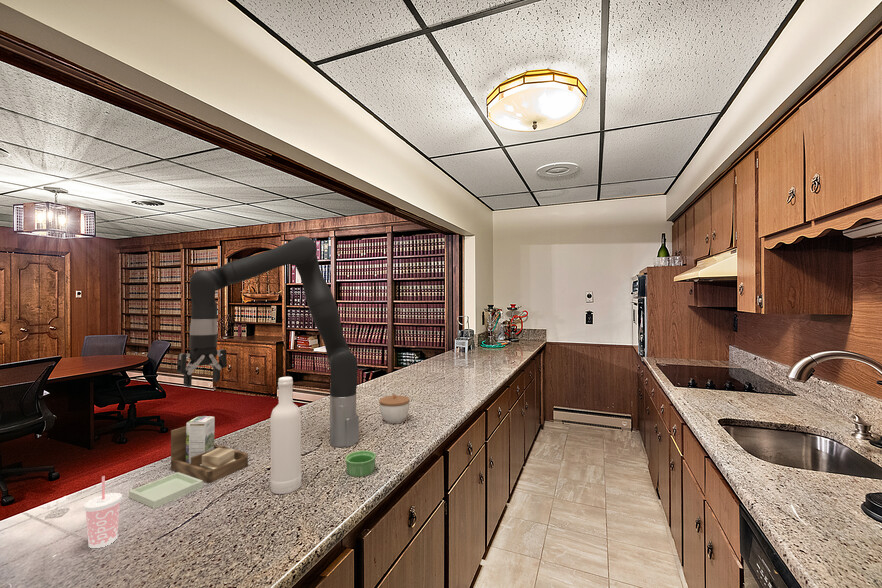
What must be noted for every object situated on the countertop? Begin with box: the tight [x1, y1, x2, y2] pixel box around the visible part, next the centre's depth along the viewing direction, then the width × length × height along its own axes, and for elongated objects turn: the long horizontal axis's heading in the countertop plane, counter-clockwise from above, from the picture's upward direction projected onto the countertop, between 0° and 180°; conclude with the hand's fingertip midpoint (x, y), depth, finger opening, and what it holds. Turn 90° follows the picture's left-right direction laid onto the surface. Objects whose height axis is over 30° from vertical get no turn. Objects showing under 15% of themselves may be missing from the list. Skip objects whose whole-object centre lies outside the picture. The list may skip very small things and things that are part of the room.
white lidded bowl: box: [378, 394, 410, 424], centre depth 160 cm, size 13×13×11 cm
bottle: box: [269, 376, 302, 495], centre depth 104 cm, size 8×8×30 cm
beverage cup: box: [83, 475, 123, 549], centre depth 81 cm, size 6×6×14 cm
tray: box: [128, 472, 204, 509], centre depth 102 cm, size 12×12×2 cm
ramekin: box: [344, 450, 377, 478], centre depth 114 cm, size 9×9×4 cm
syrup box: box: [185, 415, 216, 464], centre depth 119 cm, size 6×6×14 cm
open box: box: [170, 425, 249, 484], centre depth 117 cm, size 19×12×12 cm, turn 63°
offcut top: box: [202, 448, 235, 468], centre depth 115 cm, size 6×6×3 cm
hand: (202, 384), depth 121 cm, fingers open, 8 cm apart
